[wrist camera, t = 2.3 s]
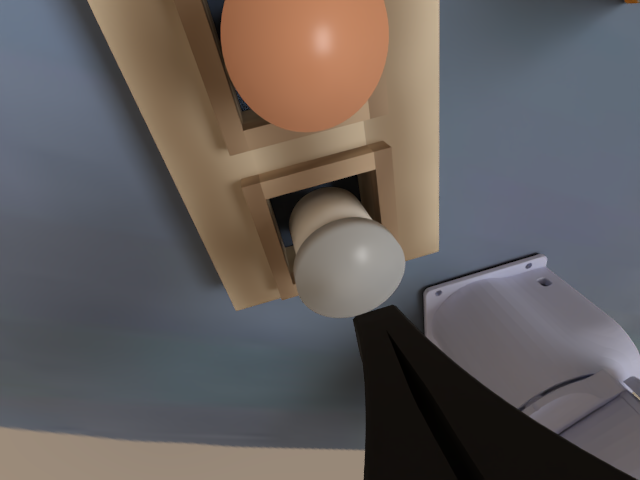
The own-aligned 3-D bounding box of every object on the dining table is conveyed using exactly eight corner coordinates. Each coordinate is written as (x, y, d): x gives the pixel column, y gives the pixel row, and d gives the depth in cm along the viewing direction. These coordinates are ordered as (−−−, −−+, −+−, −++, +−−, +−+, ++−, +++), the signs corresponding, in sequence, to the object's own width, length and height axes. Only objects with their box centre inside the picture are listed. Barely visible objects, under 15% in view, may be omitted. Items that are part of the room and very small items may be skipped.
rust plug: (334, -50, 11) (380, -85, 8) (352, 88, 14) (394, 111, 10) (205, -21, 11) (191, -43, 7) (247, 115, 14) (252, 149, 10)
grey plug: (363, 170, 16) (401, 213, 12) (373, 245, 18) (407, 300, 15) (272, 195, 16) (283, 247, 12) (294, 268, 18) (309, 329, 14)
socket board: (406, -121, 13) (456, -164, 10) (419, 229, 22) (447, 261, 19) (85, -52, 12) (38, -75, 9) (236, 282, 21) (236, 324, 18)
